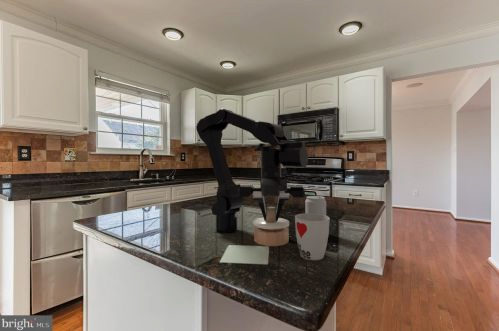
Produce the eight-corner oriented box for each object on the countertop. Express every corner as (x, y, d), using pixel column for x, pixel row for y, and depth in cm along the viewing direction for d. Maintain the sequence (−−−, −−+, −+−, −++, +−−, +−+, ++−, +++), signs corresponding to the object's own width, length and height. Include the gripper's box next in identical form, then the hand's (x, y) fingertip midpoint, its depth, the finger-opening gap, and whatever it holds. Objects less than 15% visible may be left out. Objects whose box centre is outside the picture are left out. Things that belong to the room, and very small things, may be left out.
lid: (251, 228, 65) (251, 211, 65) (254, 219, 76) (254, 204, 76) (290, 229, 64) (290, 212, 64) (288, 220, 75) (288, 204, 74)
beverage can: (327, 238, 73) (327, 198, 73) (305, 236, 75) (305, 198, 74) (325, 231, 79) (325, 195, 79) (305, 230, 81) (305, 195, 80)
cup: (291, 252, 62) (291, 213, 62) (321, 250, 63) (321, 212, 63) (300, 265, 54) (300, 221, 54) (335, 264, 55) (335, 220, 55)
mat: (219, 264, 55) (219, 262, 55) (228, 247, 66) (228, 245, 66) (267, 266, 54) (267, 264, 54) (269, 248, 65) (269, 246, 65)
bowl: (253, 247, 66) (252, 232, 66) (255, 236, 75) (255, 223, 75) (289, 248, 65) (289, 233, 65) (287, 236, 74) (287, 224, 74)
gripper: (234, 168, 63) (234, 227, 63) (307, 168, 61) (307, 229, 61) (240, 166, 74) (240, 217, 74) (302, 166, 72) (302, 218, 72)
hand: (271, 220), depth 70 cm, fingers closed on lid, 3 cm apart
